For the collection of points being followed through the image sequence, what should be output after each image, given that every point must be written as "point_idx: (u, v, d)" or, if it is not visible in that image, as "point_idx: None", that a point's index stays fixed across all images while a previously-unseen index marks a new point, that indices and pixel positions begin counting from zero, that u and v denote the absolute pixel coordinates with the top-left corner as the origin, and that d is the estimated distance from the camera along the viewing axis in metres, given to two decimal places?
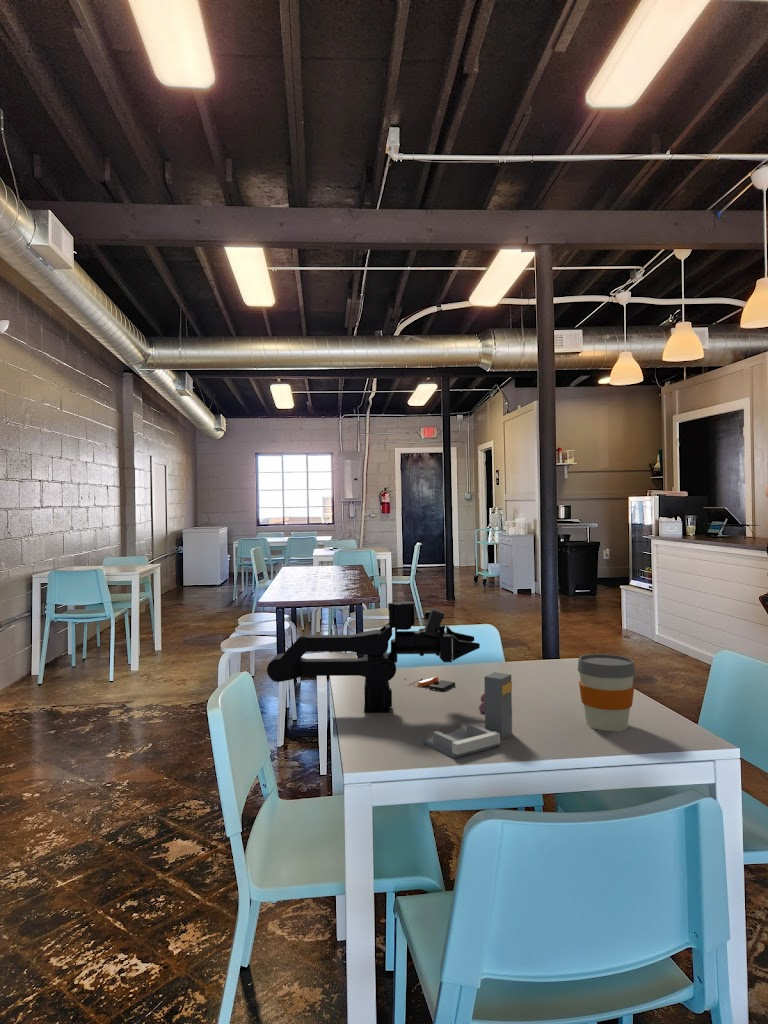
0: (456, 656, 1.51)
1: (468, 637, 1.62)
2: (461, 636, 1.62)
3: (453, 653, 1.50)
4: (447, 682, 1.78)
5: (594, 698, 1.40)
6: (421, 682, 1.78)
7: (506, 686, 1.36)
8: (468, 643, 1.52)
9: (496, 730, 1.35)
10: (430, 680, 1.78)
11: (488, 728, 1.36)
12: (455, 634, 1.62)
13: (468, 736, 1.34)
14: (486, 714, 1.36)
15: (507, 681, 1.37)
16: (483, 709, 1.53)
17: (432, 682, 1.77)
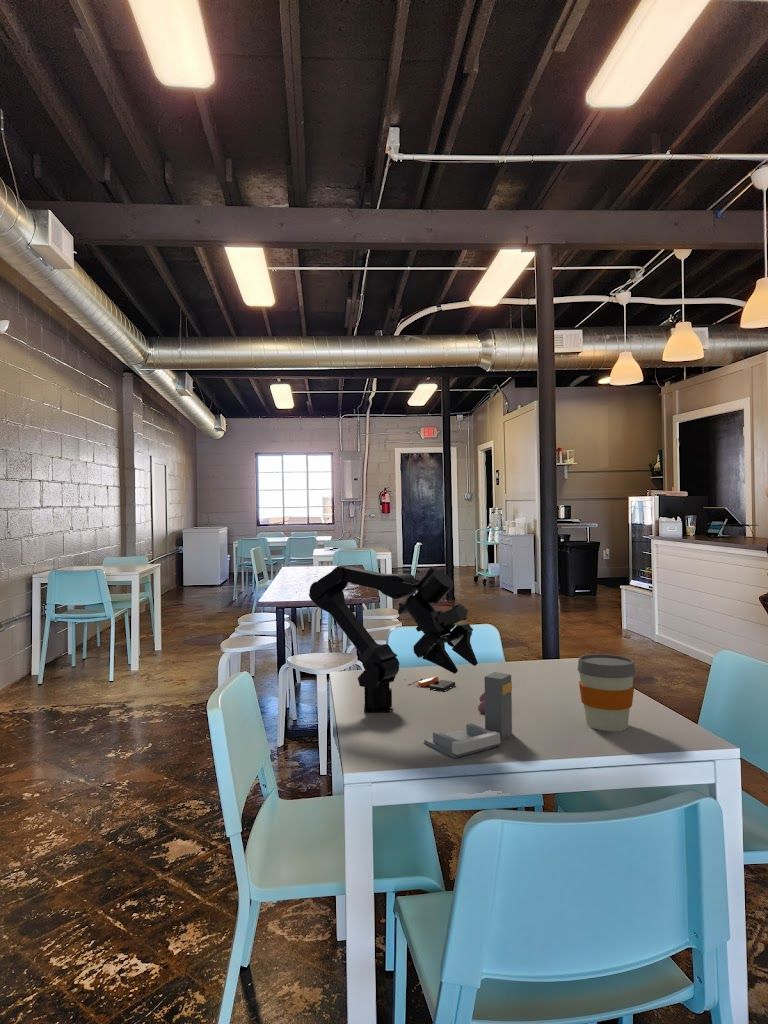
0: (429, 658, 1.41)
1: (472, 658, 1.46)
2: (469, 651, 1.47)
3: (426, 654, 1.39)
4: (447, 682, 1.78)
5: (594, 698, 1.40)
6: (421, 682, 1.78)
7: (506, 686, 1.36)
8: (448, 660, 1.39)
9: (496, 730, 1.35)
10: (430, 680, 1.78)
11: (488, 728, 1.36)
12: (466, 645, 1.48)
13: (468, 736, 1.34)
14: (486, 714, 1.36)
15: (507, 681, 1.37)
16: (482, 709, 1.53)
17: (432, 682, 1.77)
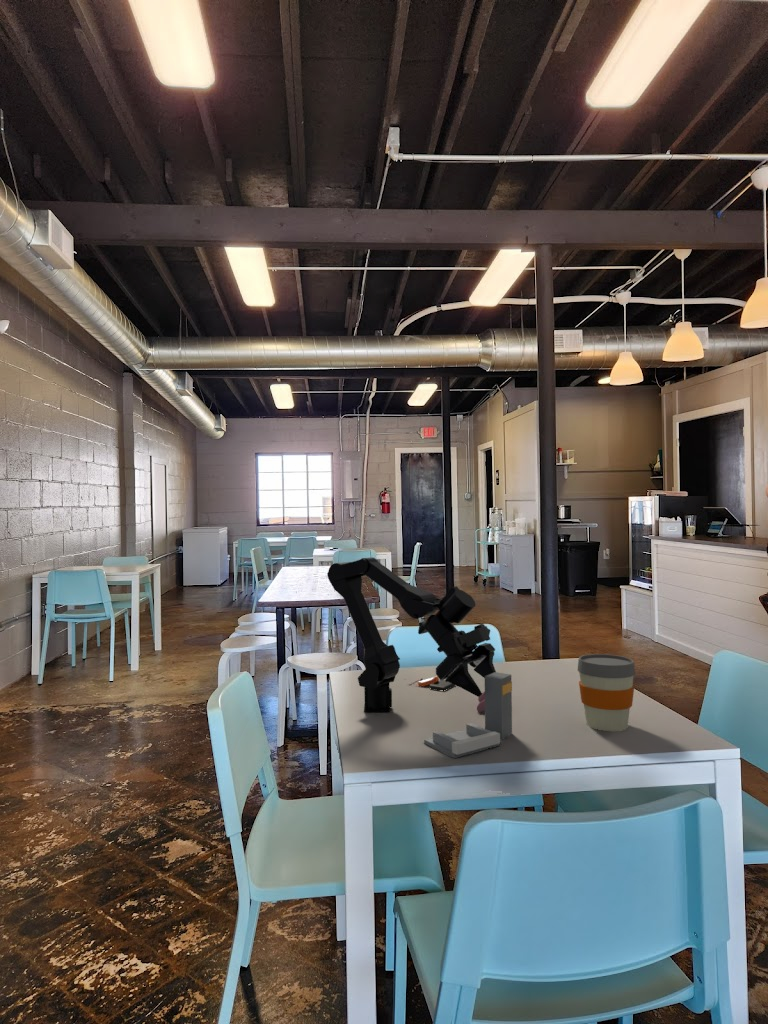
0: (452, 681, 1.37)
1: None
2: (491, 673, 1.44)
3: (449, 676, 1.36)
4: (447, 682, 1.79)
5: (594, 698, 1.40)
6: (421, 682, 1.78)
7: (506, 686, 1.36)
8: (472, 683, 1.35)
9: (496, 730, 1.35)
10: (430, 680, 1.78)
11: (488, 728, 1.36)
12: (489, 666, 1.44)
13: (468, 736, 1.34)
14: (486, 714, 1.36)
15: (507, 681, 1.37)
16: (481, 709, 1.53)
17: (432, 682, 1.78)
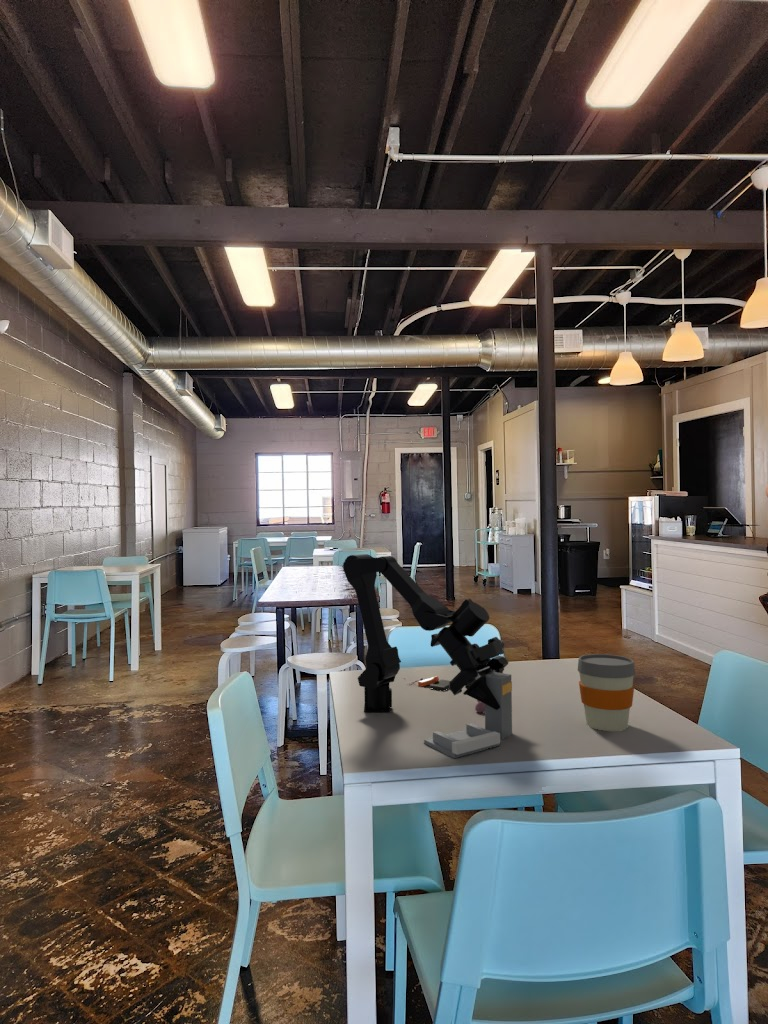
0: (470, 694, 1.36)
1: None
2: None
3: (467, 689, 1.35)
4: (447, 682, 1.79)
5: (594, 698, 1.40)
6: (421, 682, 1.79)
7: (506, 686, 1.36)
8: (490, 696, 1.35)
9: (496, 730, 1.35)
10: (430, 680, 1.78)
11: (488, 728, 1.36)
12: None
13: (468, 736, 1.34)
14: (486, 714, 1.36)
15: (507, 681, 1.37)
16: (479, 709, 1.53)
17: (432, 681, 1.78)
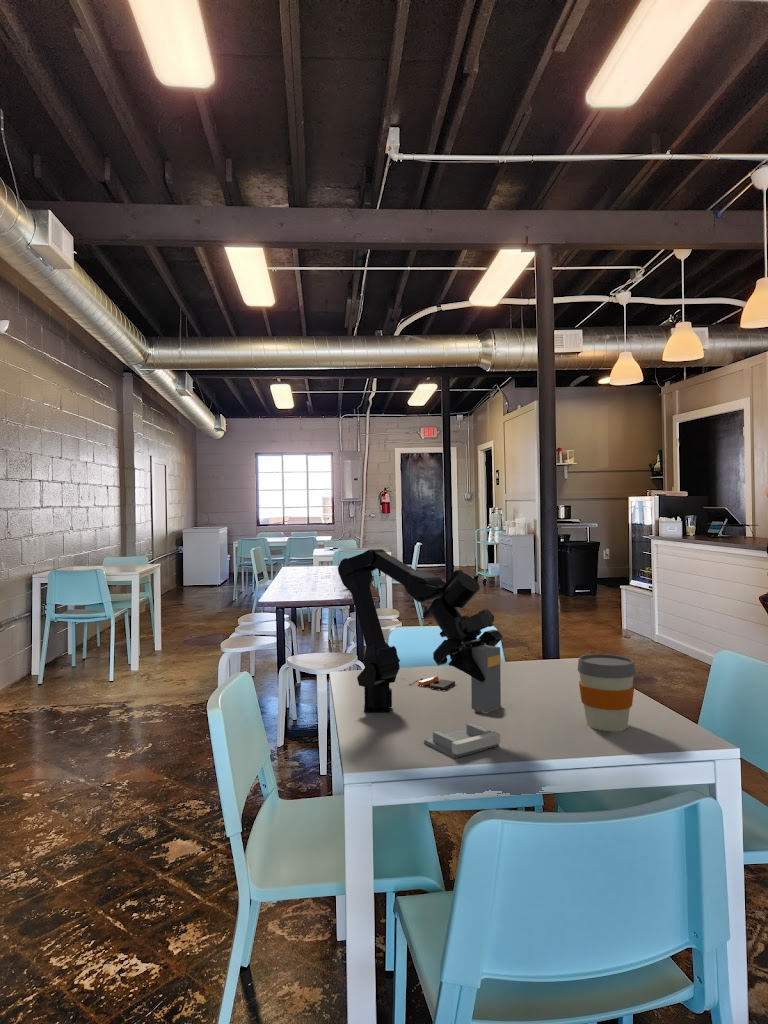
0: (456, 665, 1.34)
1: None
2: None
3: (452, 660, 1.33)
4: (447, 681, 1.79)
5: (594, 698, 1.40)
6: (421, 681, 1.79)
7: (493, 658, 1.32)
8: (475, 668, 1.32)
9: (482, 703, 1.32)
10: (430, 679, 1.78)
11: (474, 701, 1.33)
12: None
13: (468, 736, 1.34)
14: (472, 686, 1.34)
15: (495, 653, 1.33)
16: None
17: (433, 681, 1.78)
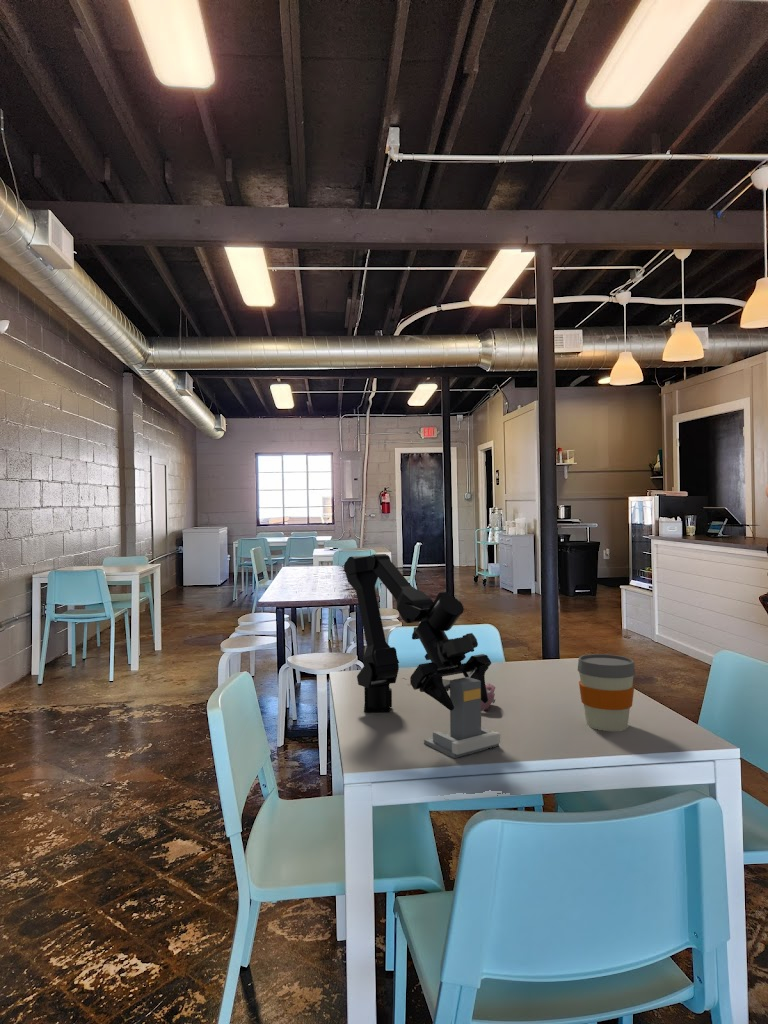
0: (427, 691, 1.30)
1: (483, 695, 1.32)
2: None
3: (422, 686, 1.29)
4: (447, 681, 1.79)
5: (594, 698, 1.40)
6: None
7: (470, 692, 1.28)
8: (444, 695, 1.27)
9: (458, 737, 1.28)
10: None
11: (452, 735, 1.30)
12: (478, 679, 1.34)
13: None
14: (451, 719, 1.30)
15: (473, 687, 1.29)
16: None
17: None
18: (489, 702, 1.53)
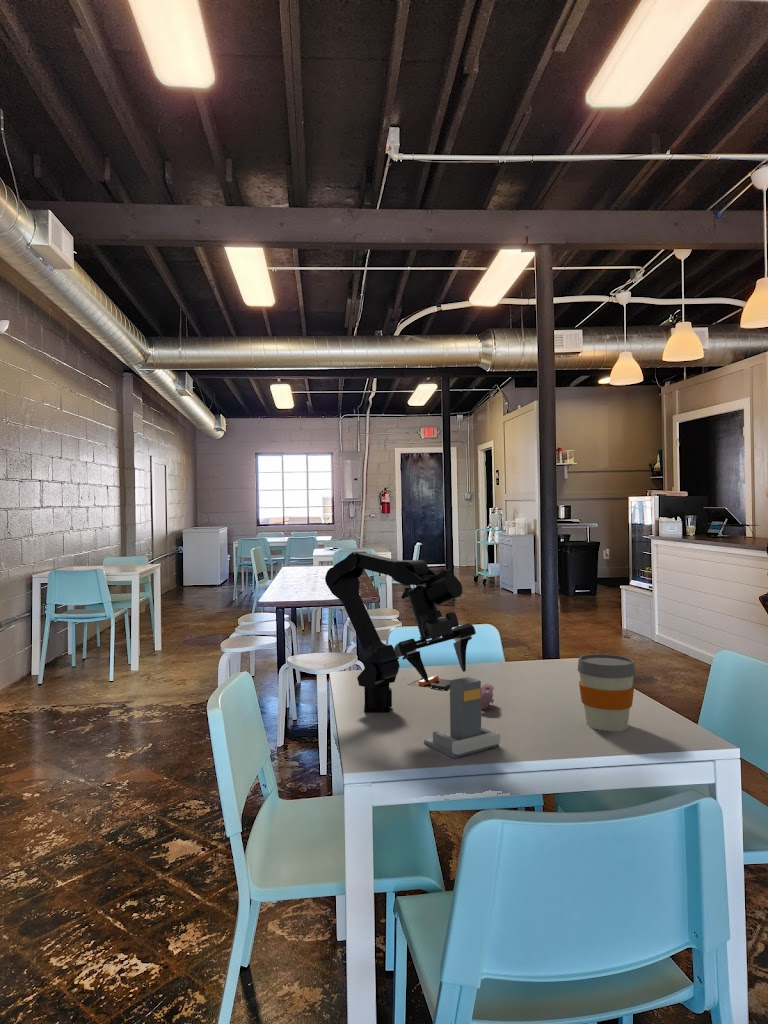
0: (409, 660, 1.44)
1: (462, 665, 1.44)
2: (460, 657, 1.44)
3: (403, 657, 1.43)
4: (447, 681, 1.80)
5: (594, 698, 1.40)
6: (422, 681, 1.79)
7: (470, 692, 1.28)
8: (421, 670, 1.41)
9: (458, 737, 1.28)
10: (431, 679, 1.79)
11: (452, 735, 1.30)
12: (460, 649, 1.44)
13: None
14: (451, 719, 1.30)
15: (473, 687, 1.29)
16: None
17: (433, 681, 1.79)
18: (487, 702, 1.53)
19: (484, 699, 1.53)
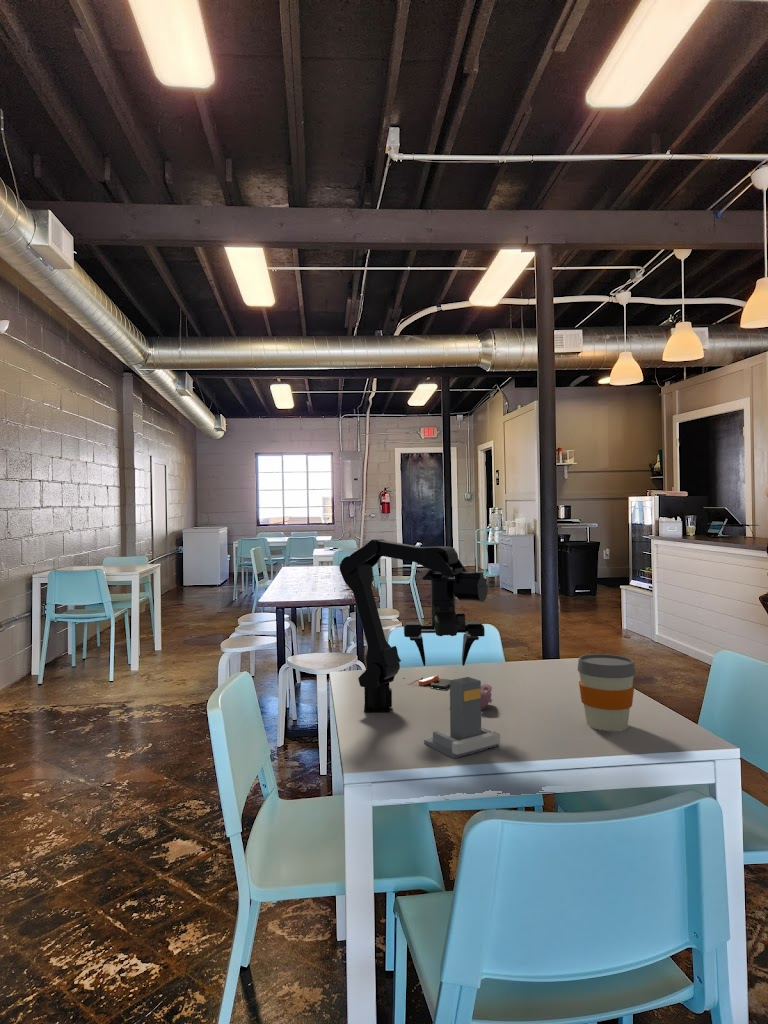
0: None
1: (462, 659, 1.47)
2: (463, 651, 1.47)
3: None
4: (447, 681, 1.80)
5: (594, 698, 1.40)
6: (422, 681, 1.79)
7: (470, 692, 1.28)
8: (420, 654, 1.47)
9: (458, 737, 1.28)
10: (431, 679, 1.79)
11: (452, 735, 1.30)
12: (464, 645, 1.47)
13: None
14: (451, 719, 1.30)
15: (473, 687, 1.29)
16: None
17: (433, 681, 1.79)
18: (486, 702, 1.53)
19: (482, 699, 1.53)
